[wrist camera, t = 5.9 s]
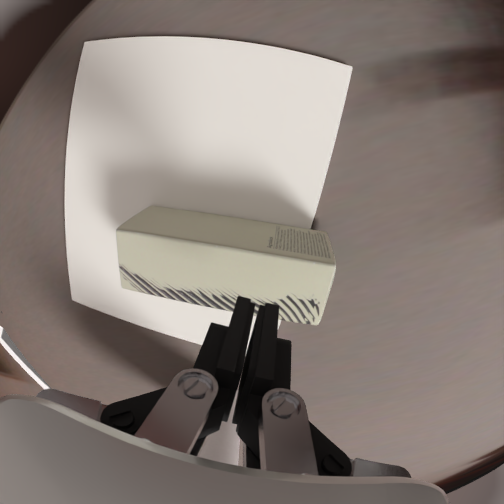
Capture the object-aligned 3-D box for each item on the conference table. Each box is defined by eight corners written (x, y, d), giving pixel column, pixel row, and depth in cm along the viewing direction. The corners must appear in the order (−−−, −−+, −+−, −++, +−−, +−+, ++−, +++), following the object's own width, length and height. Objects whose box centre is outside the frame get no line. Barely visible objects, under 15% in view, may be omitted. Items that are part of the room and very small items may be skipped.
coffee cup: (246, 427, 31) (225, 537, 17) (169, 405, 31) (128, 509, 17) (267, 381, 27) (248, 524, 13) (173, 354, 27) (113, 486, 13)
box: (316, 285, 21) (151, 256, 22) (330, 229, 19) (150, 202, 20) (320, 330, 16) (118, 290, 18) (340, 264, 15) (111, 227, 16)
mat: (88, 43, 16) (84, 41, 15) (350, 68, 15) (352, 66, 15) (75, 297, 26) (72, 300, 25) (267, 356, 25) (266, 360, 25)
